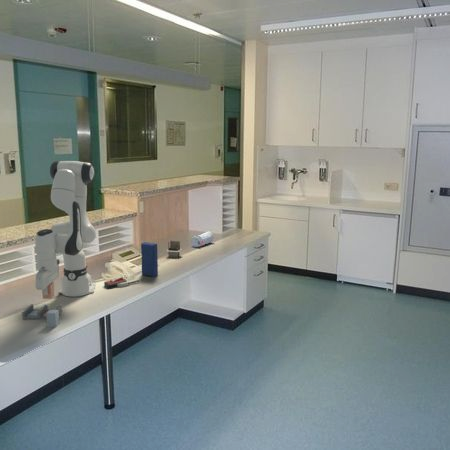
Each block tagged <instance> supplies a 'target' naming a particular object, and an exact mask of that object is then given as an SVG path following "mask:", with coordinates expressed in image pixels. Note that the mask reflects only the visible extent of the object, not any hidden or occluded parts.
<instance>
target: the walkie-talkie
mask: <svg viewBox="0 0 450 450" xmlns="http://www.w3.org/2000/svg"><path fill="white" fill-rule="evenodd" d="M138 282H140V280H134V281H127V279H126V278H123V277H122V276H119V277H114V278H113V279H111V278H110V279H109V280H107V281H104V283H103V284H104V287H105V288H106V289H114V288H123V287H128V286H129V285H132V284H136V283H138Z"/></svg>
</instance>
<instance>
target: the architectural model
mask: <svg viewBox="0 0 450 450" xmlns="http://www.w3.org/2000/svg"><path fill="white" fill-rule="evenodd" d="M167 245H168V247H167V249H166V252H168V253H167V254H168V256H167V257H168V258H173V259H176V258H177V259H178V258H179V257H180V255H181V254H180V252H181V251H182V250H183V248H181V241H178V240H170V241H169V242H168V244H167Z"/></svg>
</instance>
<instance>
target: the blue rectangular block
mask: <svg viewBox="0 0 450 450" xmlns="http://www.w3.org/2000/svg"><path fill="white" fill-rule="evenodd" d="M140 247H141V248H140V249H141V275H144V276H148V275H149V277H156V276H158V273H159V270H158V269H159V268H158V266H159V265H158V263H159V262H158V260H159V259H158V243H155V242H147V241H144V242H141V243H140Z"/></svg>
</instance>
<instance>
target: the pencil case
mask: <svg viewBox="0 0 450 450" xmlns="http://www.w3.org/2000/svg"><path fill="white" fill-rule="evenodd" d="M214 237H215V236H214V234H213V233H212V232H211V231H206V232H204V233H202V234H199V235H194V236H192V237H191V239H190V244H191V246H192V247H194V248H201V247H202V246H203V247H204V246H206V245H207V244H210V243H212V242H213V241H214ZM205 244H206V245H205Z"/></svg>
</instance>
